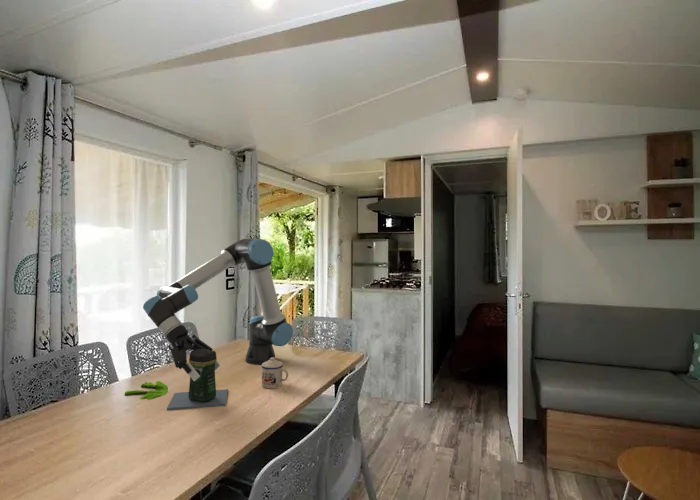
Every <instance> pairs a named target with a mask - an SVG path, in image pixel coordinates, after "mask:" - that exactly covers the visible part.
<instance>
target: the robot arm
mask: <svg viewBox="0 0 700 500" xmlns="http://www.w3.org/2000/svg"><path fill="white" fill-rule="evenodd" d="M273 257H274V249H273V245H272V244H271V243H270V242H269V241H267V240H266V239H262V238H242V239H239V240H237V241H236V242H234V243H232V244H231V245H228V246H227V247H226V248H224V249H222V250H221V252H220V254H218V255H217V256H215V257H214V258H211V259H210V260H208V261H207V262H205V263H203V264H202V265H199V266H198V267H197V268H195V269H194V270H192V271H190V272H188V273H186V275H184V276H182V277H180V278H179V279H177V280H176V281H174V282H172V283H171V284H169V285H164V286H163V285H162V286H161V287H160V288H158V290H156V295H155V296H152V297H150V298H148V299H147V300H146V301H145V302H144V303H143V306H142V309H143V310H144V312H145V313H146V315H147V316H148V317H149V319H150V320H151V321H152V322H153V323H154V324H155V326H156V327H157V329H159V331H160V332H161V333H162V335H163V337H165V338H166V340H167V341H168V342H169V345H168V350H170V352H171V356H172V359H173V363H174V366H175V368H177V369H179V370H182V369H183V370H184V372H185V373H186V374H187V375H189V376H188V377H189V378H190V377H191V378H192V380H193V381H196V380H197V379H198V378H199V377H200V375H199V374H198V373H197V372H196V370H195V369H194V368H193V366H192V365H191V364H190V363H189V362H188V359H187V357H188V356H187V351H189V350H190V351H193V350H196V349H204V350H211V351H214V350H213V348H212V347H211V346H210V345H208V344H207V343H205V342H204V341H202V340H201V339H199V338H198V337H197V336H196V335H195V334H192V335H191V336H189V330H188V329H187V327H185V325H184V324H183V323H182V321H181V320H180V319H179V318H178V316H176V313H178V312H180V311H182V310H183V309H185V308H186V307H188V306H190V305H192V304H193V303H194V302H196V301H197V300H199V293H198V291H197V290H196V289H197V288H200V287H201V286H202V285H204V284H206V283H207V282H208V281H211V280H212V279H214V278H215V277H216V276H218V275H220V274H221V273H223V272H224V271H226V270H227V269H229V268H234V267H236V266H238V265H240V264H245V265H246V269H247V271H248V272H250V273H251V275H252V279H253V281H254V282H253V283H254V287H255V289H256V294H257V297H258V302H259V306H260V308H261V309H260V310H261V313H262V315H256V316H251V317H250V319H249V345H248V348H247V352H246V354H245V362H246V363H249V364H252V365H262V364H263V363H264V362H267V361H268V360H270V358H275V359H276V353H275V350H274V347H275V346H276V347H284V346H286V345H288V344H289V342H290V341H291V340H292V337H293V335H294V327H293V326H292V325H291V324H290V323H289V322H288V321H287V319H286V315H285V314H284V313H282V311H281V307H280V303H279V300H278V296H277V292H276V291H277V290H276V287H275V284H274V280H273V276H272V271H271V266H272V265H273V263H272V260H273ZM220 366H221V364H220V363H219V362H218V360H216V364H215V371H216V370H217V369H219V367H220Z"/></svg>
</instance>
